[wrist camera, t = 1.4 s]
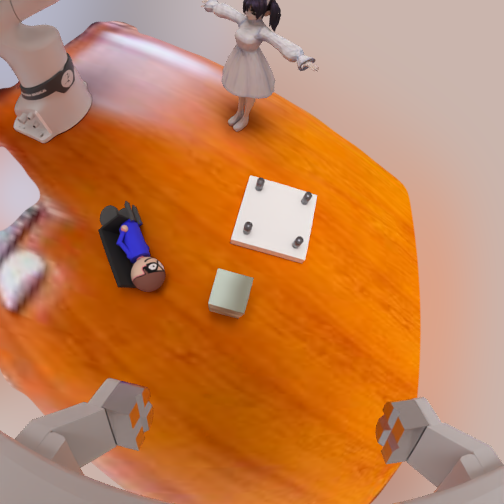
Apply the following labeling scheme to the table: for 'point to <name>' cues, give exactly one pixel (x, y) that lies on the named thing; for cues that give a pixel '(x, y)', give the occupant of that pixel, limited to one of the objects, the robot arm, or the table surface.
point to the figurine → (254, 54)
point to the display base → (275, 219)
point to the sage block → (230, 293)
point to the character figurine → (129, 250)
